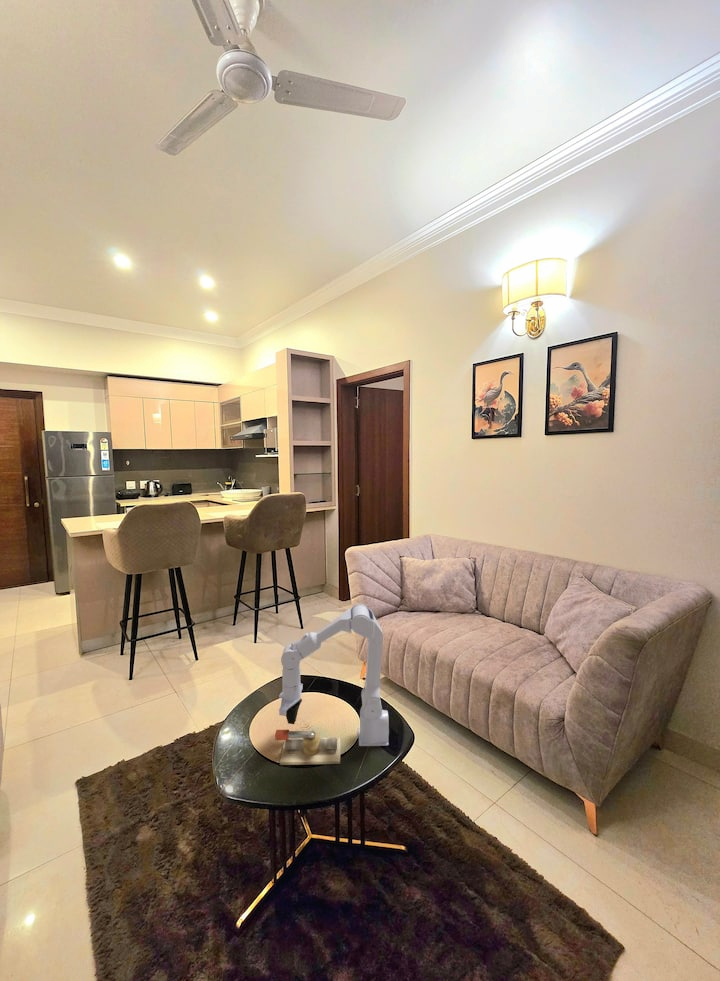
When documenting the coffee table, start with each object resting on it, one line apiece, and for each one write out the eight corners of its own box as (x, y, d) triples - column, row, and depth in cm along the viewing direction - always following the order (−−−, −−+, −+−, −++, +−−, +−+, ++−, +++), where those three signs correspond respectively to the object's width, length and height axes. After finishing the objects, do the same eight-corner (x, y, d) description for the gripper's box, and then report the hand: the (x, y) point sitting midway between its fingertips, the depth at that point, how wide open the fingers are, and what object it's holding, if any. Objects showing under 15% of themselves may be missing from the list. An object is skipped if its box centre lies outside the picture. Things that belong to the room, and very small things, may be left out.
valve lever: (315, 734, 126) (315, 729, 125) (315, 739, 123) (315, 734, 123) (276, 734, 125) (276, 729, 125) (275, 740, 123) (275, 734, 122)
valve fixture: (340, 739, 130) (340, 726, 130) (340, 763, 120) (340, 748, 120) (284, 740, 129) (284, 726, 129) (279, 764, 119) (279, 749, 119)
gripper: (288, 669, 137) (289, 706, 138) (269, 694, 123) (270, 735, 124) (308, 672, 135) (308, 710, 136) (291, 697, 121) (291, 739, 122)
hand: (291, 722), depth 130 cm, fingers closed
